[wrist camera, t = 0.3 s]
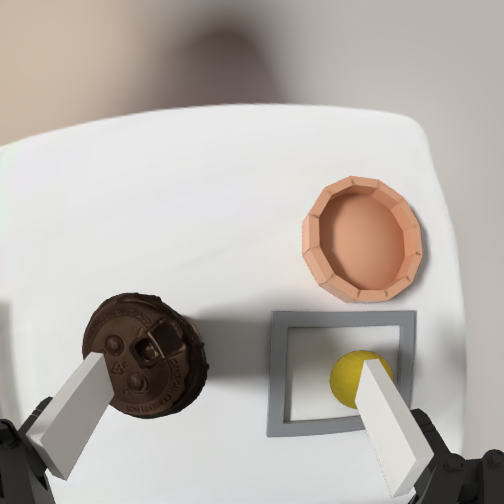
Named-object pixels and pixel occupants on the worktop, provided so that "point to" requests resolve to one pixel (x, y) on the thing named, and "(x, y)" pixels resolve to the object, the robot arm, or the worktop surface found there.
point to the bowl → (361, 241)
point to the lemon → (352, 375)
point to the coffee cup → (147, 354)
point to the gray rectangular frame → (329, 319)
